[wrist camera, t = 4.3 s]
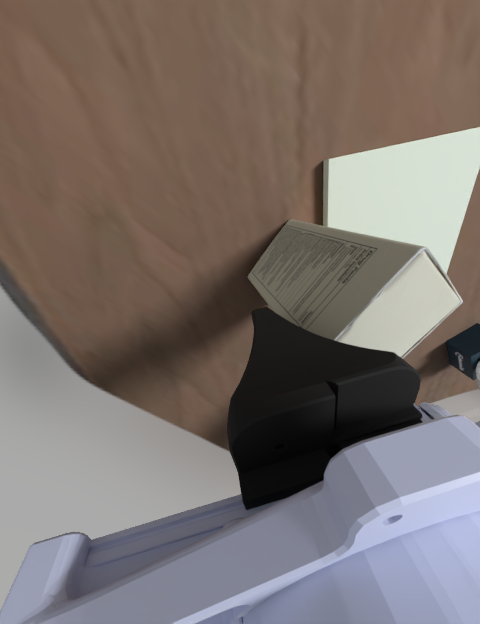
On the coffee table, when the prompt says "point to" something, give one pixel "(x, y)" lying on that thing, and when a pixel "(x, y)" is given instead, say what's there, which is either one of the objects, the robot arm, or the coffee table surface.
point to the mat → (405, 191)
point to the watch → (466, 352)
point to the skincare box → (354, 286)
